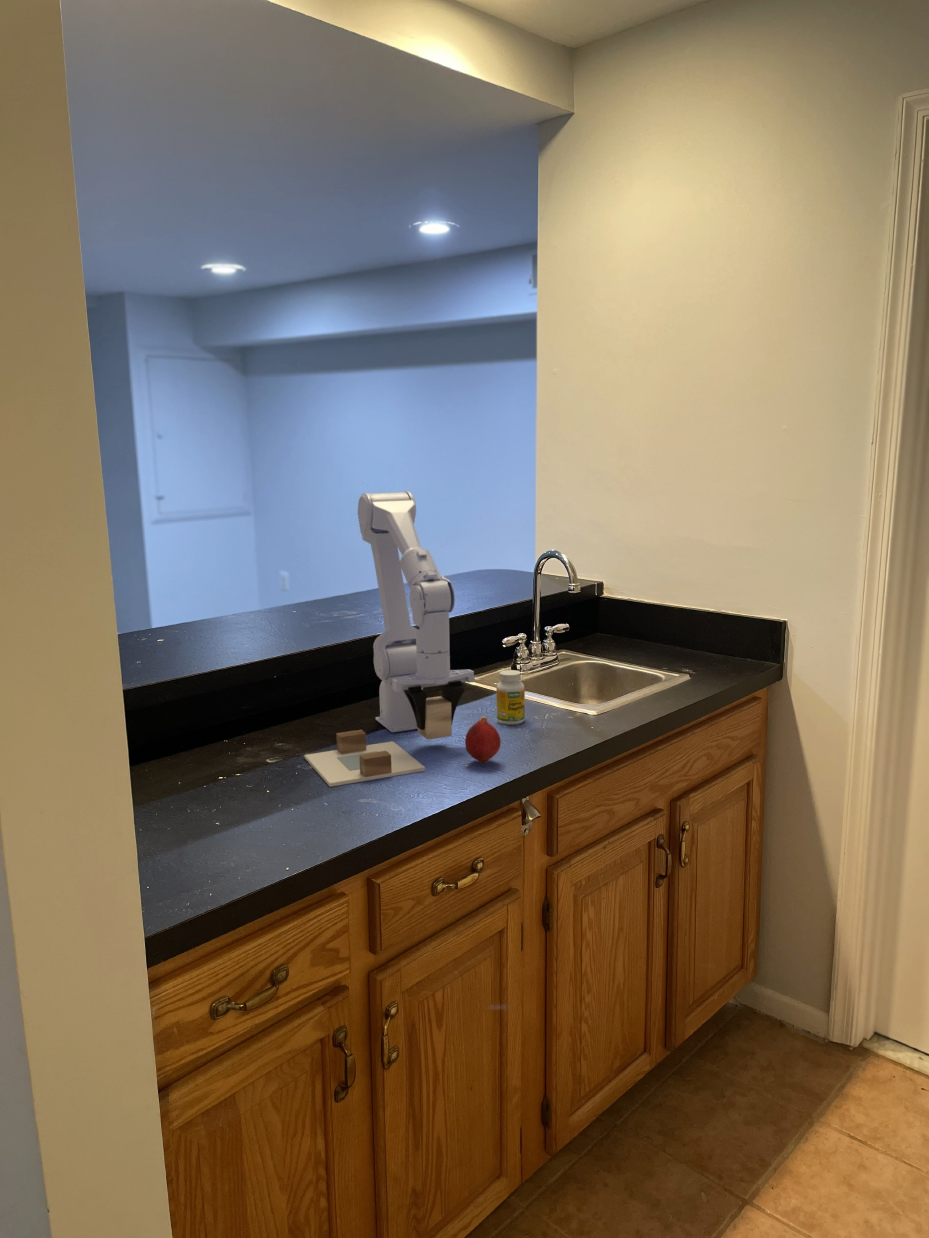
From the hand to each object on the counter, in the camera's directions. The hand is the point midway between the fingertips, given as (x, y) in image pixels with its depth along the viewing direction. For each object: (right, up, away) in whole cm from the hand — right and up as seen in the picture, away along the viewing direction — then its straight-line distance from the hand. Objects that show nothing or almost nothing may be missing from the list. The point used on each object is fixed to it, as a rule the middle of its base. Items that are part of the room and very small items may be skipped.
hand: (434, 726), depth 163 cm
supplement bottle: (+14, -1, +16) cm, 21 cm away
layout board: (-12, -6, -7) cm, 15 cm away
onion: (+8, -6, -8) cm, 12 cm away
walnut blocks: (-12, -6, -7) cm, 15 cm away
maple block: (0, -1, 0) cm, 1 cm away
